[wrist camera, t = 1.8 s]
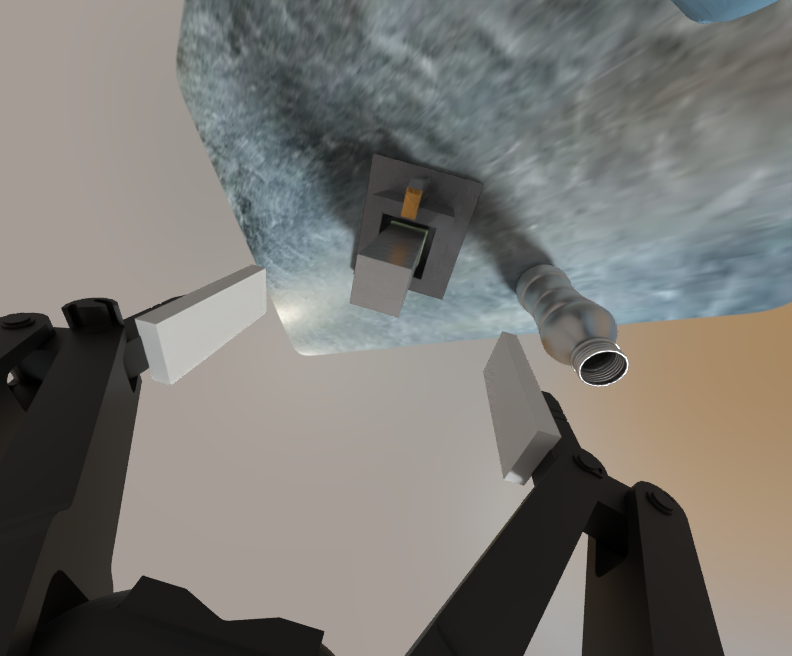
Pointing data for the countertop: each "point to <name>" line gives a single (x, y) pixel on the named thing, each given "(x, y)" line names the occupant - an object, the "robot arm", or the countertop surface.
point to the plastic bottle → (572, 326)
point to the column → (388, 267)
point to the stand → (421, 215)
